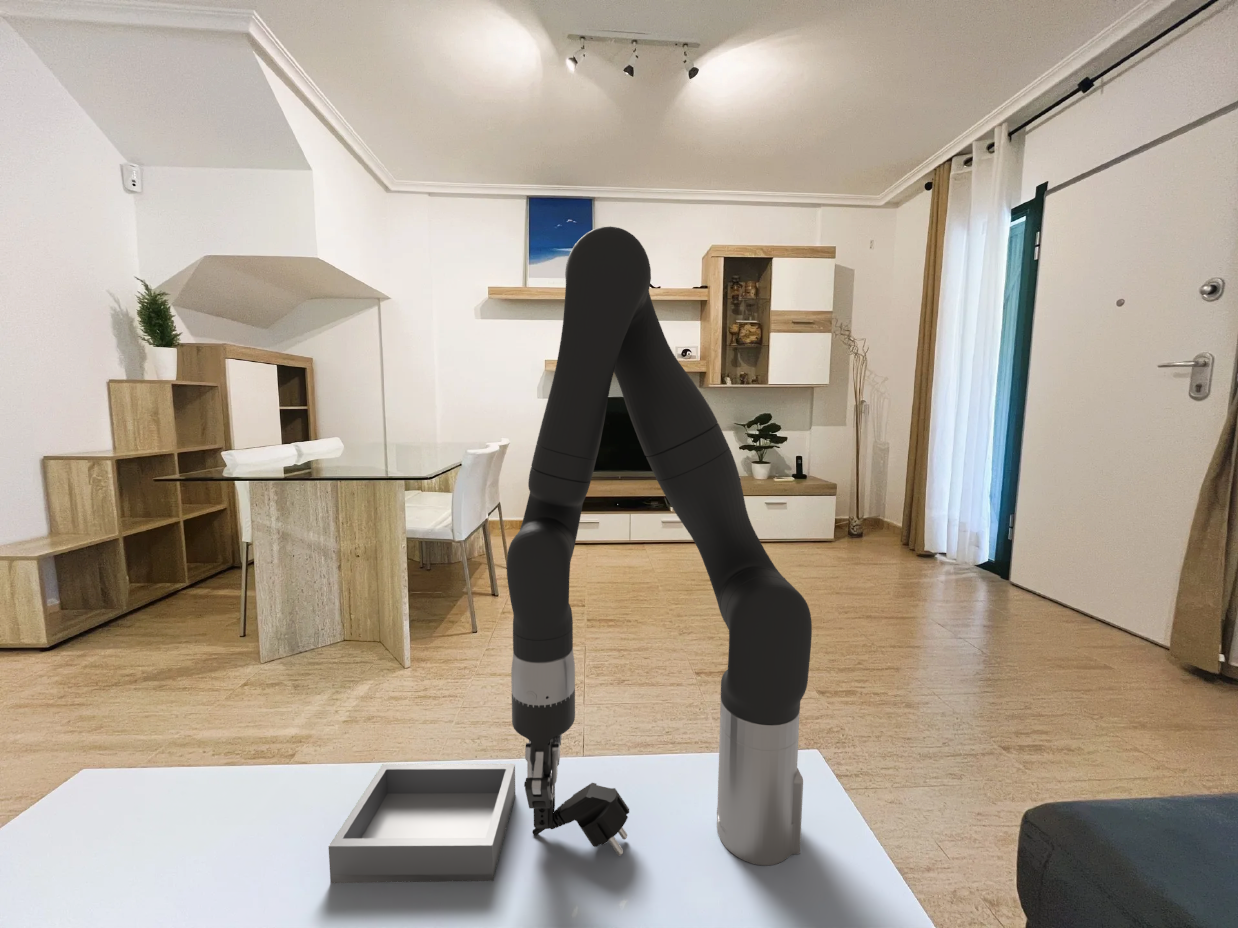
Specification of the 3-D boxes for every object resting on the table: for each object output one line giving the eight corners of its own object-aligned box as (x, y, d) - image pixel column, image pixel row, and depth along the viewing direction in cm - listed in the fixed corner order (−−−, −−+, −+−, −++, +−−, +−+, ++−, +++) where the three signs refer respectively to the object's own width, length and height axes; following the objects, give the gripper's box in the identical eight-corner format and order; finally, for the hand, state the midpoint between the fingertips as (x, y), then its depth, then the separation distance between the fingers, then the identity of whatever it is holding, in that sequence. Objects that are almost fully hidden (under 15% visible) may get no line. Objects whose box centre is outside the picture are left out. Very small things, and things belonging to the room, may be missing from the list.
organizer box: (515, 794, 69) (514, 763, 69) (493, 882, 56) (492, 845, 56) (383, 794, 69) (382, 763, 68) (330, 883, 56) (328, 846, 55)
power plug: (538, 810, 65) (610, 765, 63) (572, 862, 64) (646, 818, 62) (521, 843, 60) (598, 794, 58) (558, 900, 59) (638, 853, 57)
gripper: (570, 719, 53) (570, 868, 55) (578, 656, 67) (578, 777, 69) (499, 719, 53) (501, 869, 55) (522, 656, 67) (523, 778, 69)
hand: (544, 817), depth 62 cm, fingers closed on power plug, 2 cm apart
